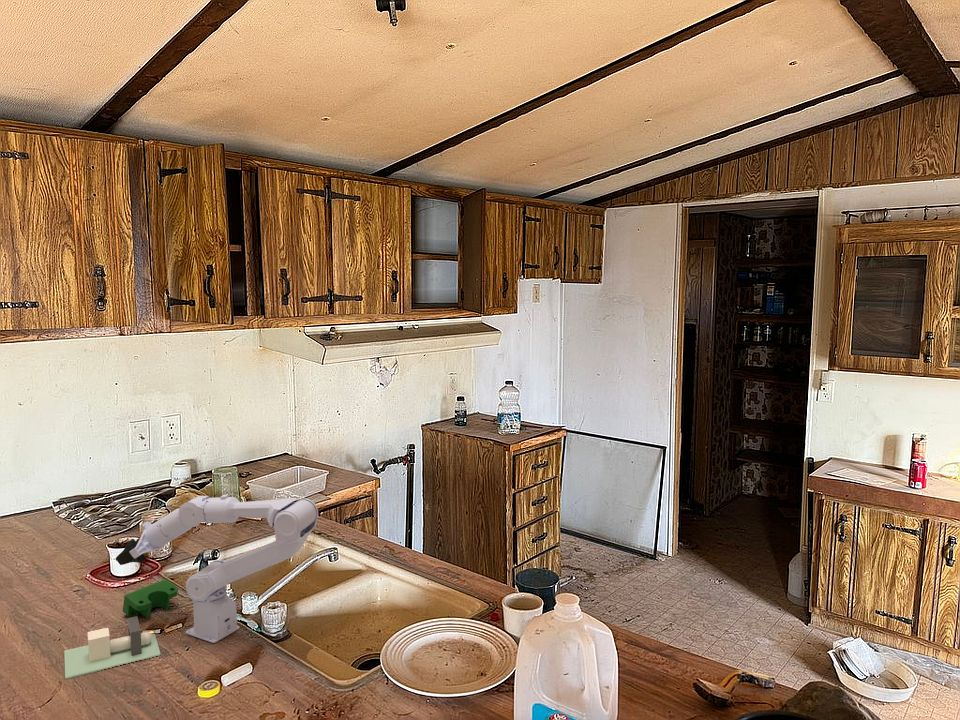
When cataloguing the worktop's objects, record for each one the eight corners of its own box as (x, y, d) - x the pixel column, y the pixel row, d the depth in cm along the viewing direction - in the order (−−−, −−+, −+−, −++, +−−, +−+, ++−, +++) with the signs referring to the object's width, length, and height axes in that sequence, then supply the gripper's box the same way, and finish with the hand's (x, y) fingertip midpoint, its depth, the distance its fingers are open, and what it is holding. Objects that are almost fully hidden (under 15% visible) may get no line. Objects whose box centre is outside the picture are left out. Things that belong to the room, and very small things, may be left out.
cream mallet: (150, 638, 157) (149, 618, 156) (152, 647, 153) (152, 625, 153) (88, 653, 150) (87, 632, 150) (89, 662, 147) (88, 640, 146)
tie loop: (138, 638, 157) (137, 616, 156) (141, 653, 151) (140, 630, 150) (128, 640, 156) (127, 618, 155) (131, 656, 150) (130, 632, 149)
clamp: (142, 635, 167) (132, 612, 162) (128, 623, 170) (117, 600, 165) (185, 601, 175) (176, 578, 170) (170, 590, 178) (161, 567, 173)
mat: (153, 631, 161) (153, 630, 161) (160, 655, 151) (160, 654, 151) (64, 652, 151) (64, 650, 151) (65, 679, 141) (65, 677, 141)
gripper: (176, 500, 167) (137, 524, 171) (140, 529, 154) (98, 555, 157) (193, 523, 168) (154, 546, 172) (159, 554, 155) (117, 579, 158)
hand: (128, 552), depth 164 cm, fingers open, 7 cm apart
